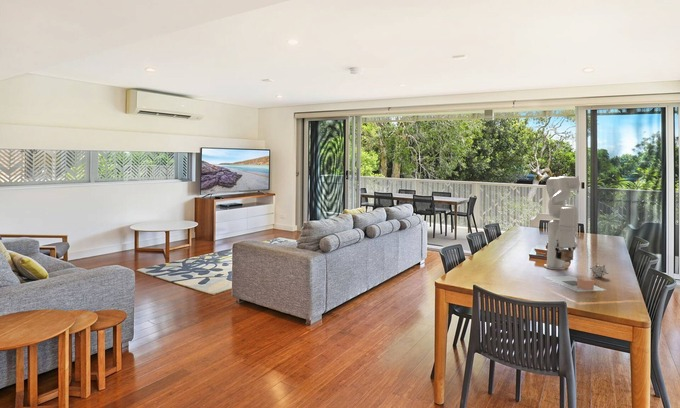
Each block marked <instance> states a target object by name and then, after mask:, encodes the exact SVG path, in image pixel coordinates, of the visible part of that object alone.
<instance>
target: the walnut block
mask: <svg viewBox="0 0 680 408" xmlns="http://www.w3.org/2000/svg"><path fill="white" fill-rule="evenodd" d="M555 258H556V255H555ZM560 260H563V261H573V260H574V252H573V251H570V250H568V248H564V249H562V250H561V259H560Z"/></svg>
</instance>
